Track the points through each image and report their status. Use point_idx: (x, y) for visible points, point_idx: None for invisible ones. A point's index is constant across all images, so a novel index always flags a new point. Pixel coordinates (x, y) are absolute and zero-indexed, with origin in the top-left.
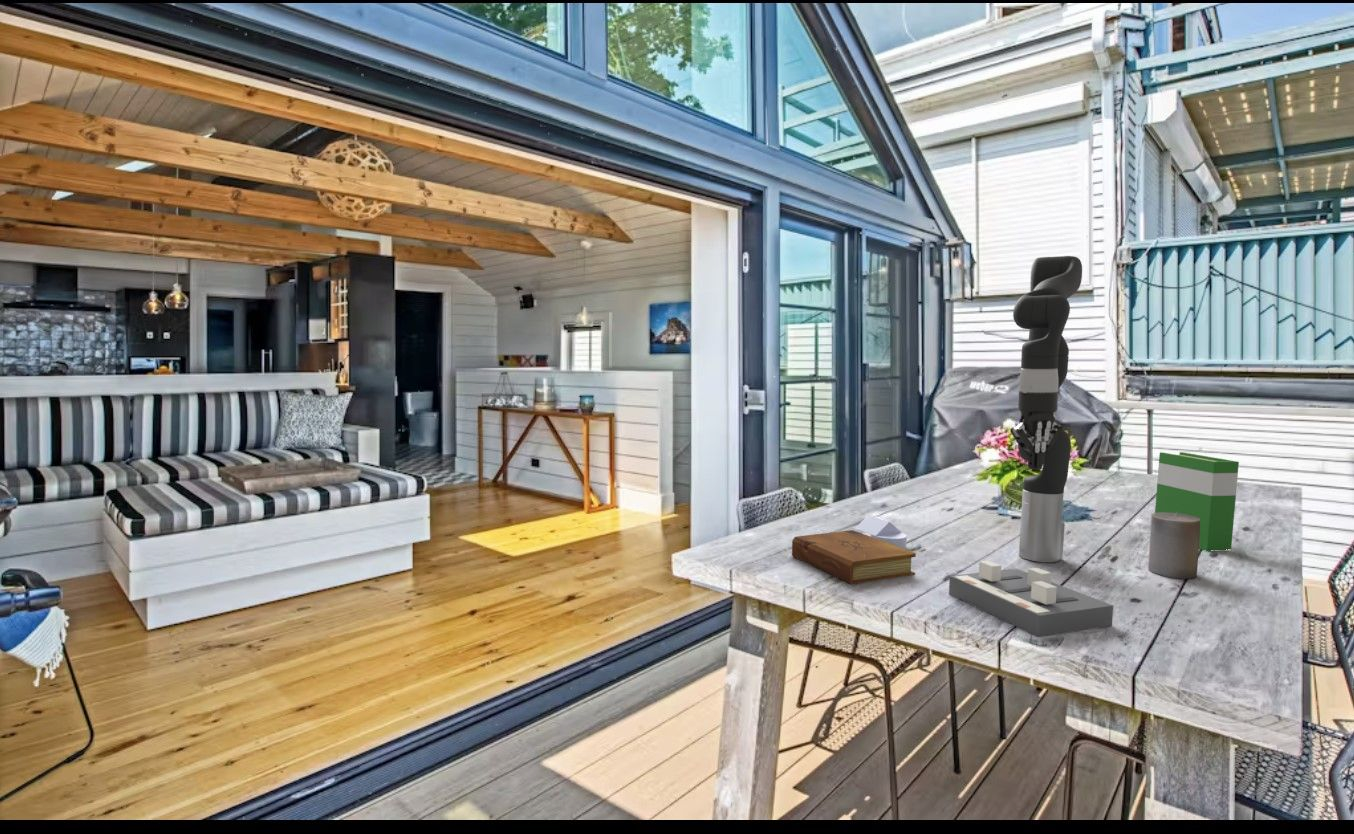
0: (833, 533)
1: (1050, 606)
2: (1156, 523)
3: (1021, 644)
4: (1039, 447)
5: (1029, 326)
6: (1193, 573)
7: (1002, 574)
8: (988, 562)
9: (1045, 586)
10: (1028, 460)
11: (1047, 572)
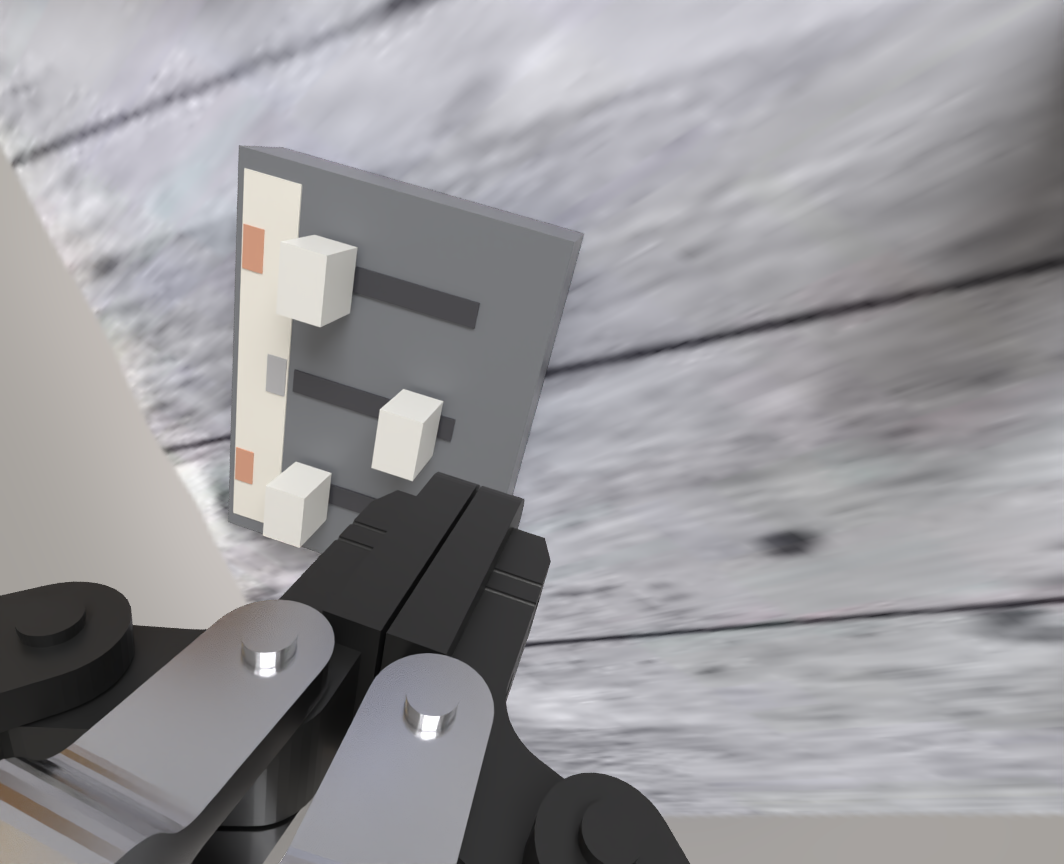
0: None
1: None
2: None
3: (194, 489)
4: (279, 860)
5: None
6: None
7: (445, 257)
8: (306, 271)
9: (271, 527)
10: (343, 537)
11: (405, 470)
